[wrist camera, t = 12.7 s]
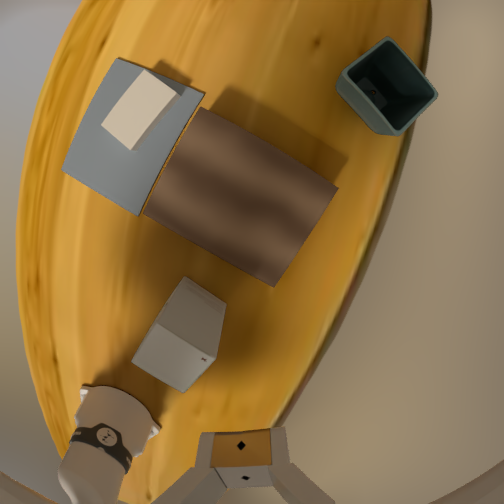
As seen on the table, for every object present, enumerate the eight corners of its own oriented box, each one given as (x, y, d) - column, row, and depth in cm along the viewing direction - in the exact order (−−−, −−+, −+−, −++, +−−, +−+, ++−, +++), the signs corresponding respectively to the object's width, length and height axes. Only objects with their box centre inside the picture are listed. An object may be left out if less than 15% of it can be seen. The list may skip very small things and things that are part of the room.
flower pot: (319, 93, 31) (339, 72, 22) (361, 58, 29) (388, 34, 20) (365, 143, 33) (398, 138, 24) (404, 106, 31) (440, 95, 22)
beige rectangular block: (100, 124, 30) (107, 126, 32) (130, 150, 31) (136, 150, 33) (144, 69, 28) (149, 73, 30) (176, 92, 29) (180, 96, 31)
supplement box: (184, 273, 38) (156, 320, 26) (228, 303, 39) (219, 360, 27) (159, 310, 40) (128, 362, 28) (200, 337, 41) (184, 395, 29)
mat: (138, 216, 35) (137, 216, 35) (62, 169, 33) (61, 169, 33) (204, 94, 31) (204, 94, 31) (117, 58, 29) (116, 58, 28)
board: (271, 275, 38) (273, 287, 34) (153, 208, 35) (142, 213, 31) (329, 185, 34) (338, 188, 30) (206, 112, 32) (200, 106, 28)
